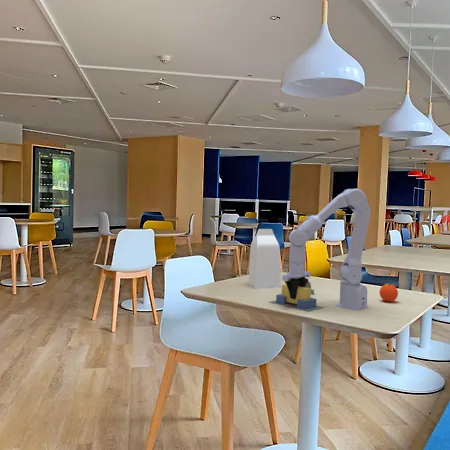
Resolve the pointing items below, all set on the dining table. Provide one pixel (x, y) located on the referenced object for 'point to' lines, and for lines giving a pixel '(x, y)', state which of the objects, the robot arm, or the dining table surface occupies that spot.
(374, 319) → the dining table surface
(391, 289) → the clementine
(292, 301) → the slat
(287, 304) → the mat
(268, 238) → the milk
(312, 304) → the end cap
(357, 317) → the dining table surface
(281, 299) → the end cap
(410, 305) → the dining table surface
